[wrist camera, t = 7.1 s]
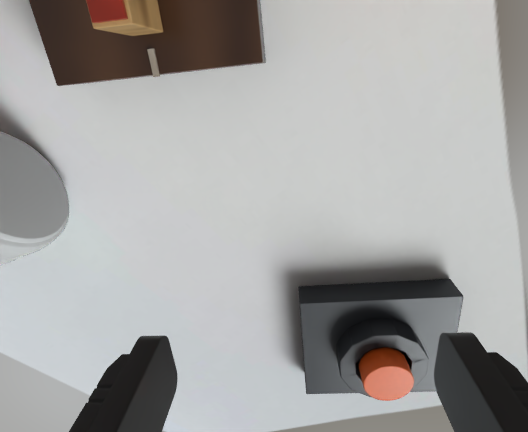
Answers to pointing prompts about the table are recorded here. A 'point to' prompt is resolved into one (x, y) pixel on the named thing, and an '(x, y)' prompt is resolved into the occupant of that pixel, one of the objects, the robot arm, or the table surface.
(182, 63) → the handle panel
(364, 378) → the button
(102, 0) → the wooden block
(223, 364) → the table surface
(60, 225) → the headphones
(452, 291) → the button block
